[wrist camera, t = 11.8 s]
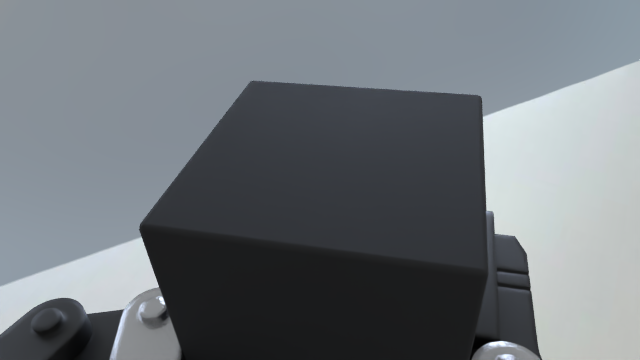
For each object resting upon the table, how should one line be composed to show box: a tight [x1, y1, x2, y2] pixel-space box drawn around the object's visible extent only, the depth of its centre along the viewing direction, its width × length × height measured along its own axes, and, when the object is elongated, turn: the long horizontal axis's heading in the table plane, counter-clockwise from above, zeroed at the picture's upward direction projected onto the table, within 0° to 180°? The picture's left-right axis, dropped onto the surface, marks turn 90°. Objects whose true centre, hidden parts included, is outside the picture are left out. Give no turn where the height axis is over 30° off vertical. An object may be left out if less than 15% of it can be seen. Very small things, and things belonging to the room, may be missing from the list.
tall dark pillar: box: [139, 81, 489, 360], centre depth 11 cm, size 5×5×10 cm
